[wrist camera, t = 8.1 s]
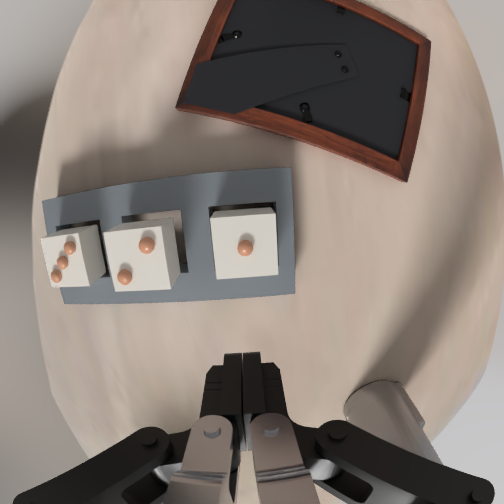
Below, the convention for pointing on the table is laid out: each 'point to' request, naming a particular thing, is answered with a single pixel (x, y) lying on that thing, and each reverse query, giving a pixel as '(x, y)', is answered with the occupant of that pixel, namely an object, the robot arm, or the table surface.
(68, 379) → the table surface
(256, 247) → the tile one
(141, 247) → the tile two
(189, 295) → the board
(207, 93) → the picture frame
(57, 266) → the tile three
